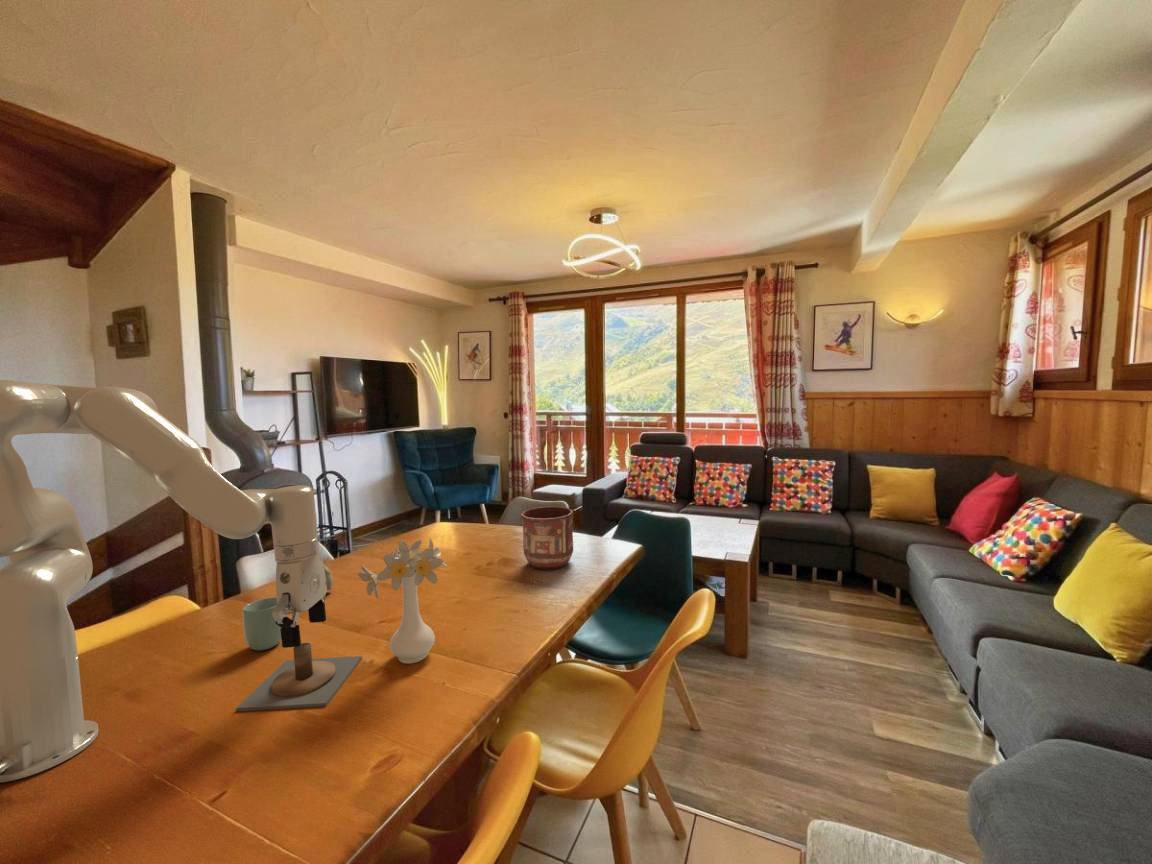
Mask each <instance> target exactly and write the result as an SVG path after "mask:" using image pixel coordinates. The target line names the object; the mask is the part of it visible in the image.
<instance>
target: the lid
mask: <svg viewBox="0 0 1152 864" xmlns="http://www.w3.org/2000/svg"><path fill="white" fill-rule="evenodd" d="M312 659H313V655H312V644H311V643H310V642H303V643H302V642H301V645H300V646H298V647H293V660H294V663H295V666H294V667H292V668H289V669H287V670H286V671H284V672H282V673H281V674H280V675H278V676H277V677H276V678H275V679H274V680H273V682H272V692H273V694H275V695H276V696H280V697H294V696H300V695H304V694H307V693H310V692H312V691H315V690H317V689H319V688H321V687H323V686H324V685H326V684H327V683H328V682H330V681H331V680H332V679H333V677H334V676H335V673H336V670H335V665H334V664H333V663H331V662H329V661H312Z"/></svg>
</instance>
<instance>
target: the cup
mask: <svg viewBox="0 0 1152 864" xmlns="http://www.w3.org/2000/svg"><path fill="white" fill-rule="evenodd" d="M276 606H277V596H276V597H275V596H274V597H265V598H261V599H256V600H253V601H252V602H250V603H247V604H246V605H245V606H244V607H243V608H242V623H243V624H242V626H243V633H244V639H245V641H246V645H247V646H248V647H249V648H250V649H251V650H253V651H257V652H258V651H266V650H270V649H272V648H273V647H276V646H277V645H279V644H280V642H282V639H281V630H280V629H279V628H278V625H277V624H276V622H275V619H274V617H273V615H272V613H273V611H274V609H275V607H276Z"/></svg>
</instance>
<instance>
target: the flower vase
mask: <svg viewBox="0 0 1152 864" xmlns="http://www.w3.org/2000/svg"><path fill="white" fill-rule="evenodd" d="M428 539H429V543H428V544H429V547H428V548H425V549H424V550H423V551H420V550H419V549H420V547H421V545H422V540H419V539H418V540H416V541H414V542H413V544H411V546H409V544H408V543H407V542H406V541H404V540H400V541H399V542H398V543H397V546H396V548H395V551H391V554H388V553H387V554H384V555H383V563H384V564H385V566H386V567H384V569H383V570H382V571H380V572H379V573H378V574H377V573H374V572H372V571H371V570H369V569H368V568H367V567H366V566H364V565H363V564H361V565H360V567H361V570H362V571H363V572H358V573H357V574H358V577H359V578H360V579H361V580H362V581H364V582H368V583H367V584H366V593H367V595H368V596H371V595H372V594H373V592H374V596H375V597H376V599H377V600H379V598H380V597H379V585H380V584H379V583H380V582H381V581H387V580H390V579H391V582H390V583H391V588H392V590H393V591H398V590H399V588H400V587H401V588H402V616H401V617H402V618H401V622H400V624H399V627H398V628H397V630H396V631H395V632H394V633H393V635H392V637H391V638H390V641H389V651H390V653H391V654H392V655H393V656H394V657H396V658H397V660H398V661H399V662H400V663H401V664H404V665H405V664H407V665H408V664H409V665H410V664H416V663H419V662H421V661H424V660H425V659H426V657H427V656H428V654H429V651H430V650H431V649H432V648H433V646H434V644H435V641H436V637H435V633H434V631H433V630H432V628H431V627H430V626H429V625H428V624H426V623H425V622H424V620H423V619H422V617H421V613H420V608H419V598H418V586H419V585H421V584H422V583H423V581H424V579H426V580H427V581H428V582H430V583H431V584H436V583H438V577H437V574H436V573H435V571H433V570H436V569H438V568H439V567H441V566H445V567H448V565H447V564H446V561H444V560H443V559H442V558H441V555H442V551H441V550H440V548H438V547H434V542H433V541H432V538H431V537H429V538H428ZM408 565H409V566H408Z"/></svg>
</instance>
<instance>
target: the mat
mask: <svg viewBox="0 0 1152 864" xmlns="http://www.w3.org/2000/svg"><path fill="white" fill-rule="evenodd" d="M362 659H363V656H362V655H359V656H357V655H356V656H341V657H340V656H339V657H323V658H322V657H320V658H317V657H316V658H312V661H329V662H331V663H333V664H334V665H335V670H336V673H335V676H334V677H333V679H332V680H331V681H330V682H328V683H327V684H326V685H324V686H323V687H321V688H319V689H317V690H315V691H312V692H310V693H307V694H304V695H300V696H294V697H280V696H276V695H275V694H273V692H272V682H273V680H274V679H275V678H276V677H277V676H278V675H280V674H281V673H282V672H284V671H286V670H287V669H289V668H292V667H294V666H295V663H294V659H286V660H285V661H284V662H283V663H282V664H281V665H280V666H279V667H277V669H276V670H274V672H272V674H270V675H269V676H268V677H267V678H266V679H265V680H264V681H263V682H262V683H261V684H260V685H259V686H258V687H256V689H254V690H253V691H252V692H251V693H250V694H249V695H248V696H247V697H246V698H245V699H244V700H243V701H242V702H241V703H240V704H239V705H238V706H236V708H235V711H236V712H249V711H267V710H279V709H280V710H283V709H300V708H301V709H302V708H315V707H317V708H318V707H328V705H329V703H330V702H331V701H332V700H333V698H334V696H336V694H337V693H338V691H339V690H340V688H341V687H342V686H343V685H344V684H345V683H346V681H347V680H348V678H349V677H350V675H352V673H353V672H354V670H355V669H356V668H357V666H358V665H359V663H361V661H362Z"/></svg>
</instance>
